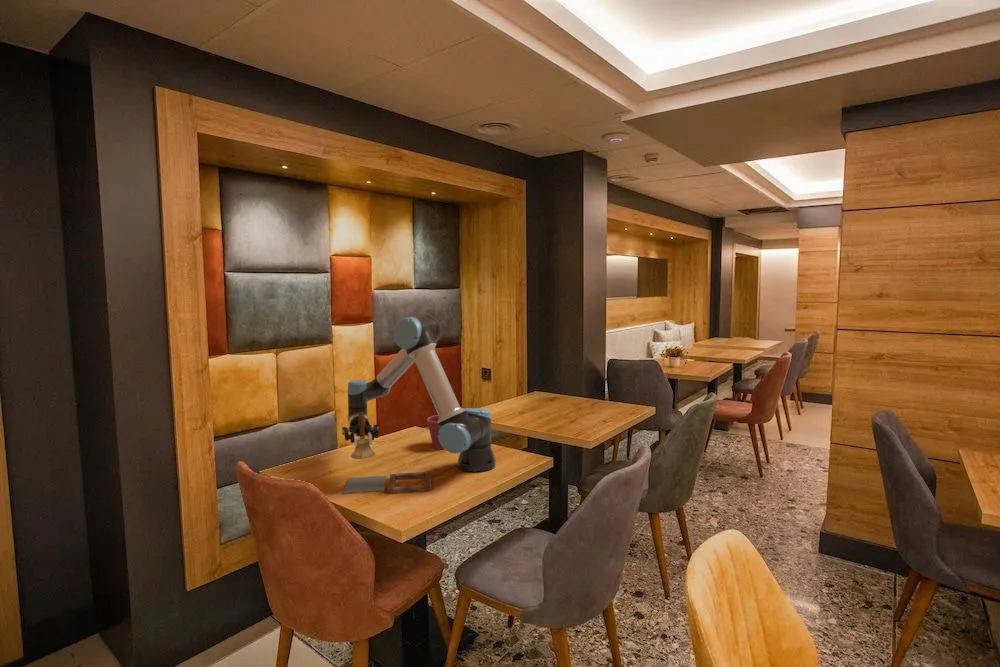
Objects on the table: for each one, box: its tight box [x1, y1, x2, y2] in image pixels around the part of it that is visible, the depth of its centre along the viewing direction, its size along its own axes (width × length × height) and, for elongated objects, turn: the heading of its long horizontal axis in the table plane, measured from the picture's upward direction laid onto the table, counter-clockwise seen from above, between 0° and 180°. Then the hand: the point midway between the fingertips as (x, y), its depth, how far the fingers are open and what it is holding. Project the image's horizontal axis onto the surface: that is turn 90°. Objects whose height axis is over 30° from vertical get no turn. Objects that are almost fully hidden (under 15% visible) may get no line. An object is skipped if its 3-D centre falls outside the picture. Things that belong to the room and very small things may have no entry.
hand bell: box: [350, 412, 376, 460], centre depth 184 cm, size 8×8×16 cm
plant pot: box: [426, 414, 445, 450], centre depth 230 cm, size 14×14×13 cm
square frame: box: [387, 471, 432, 494], centre depth 186 cm, size 15×15×2 cm
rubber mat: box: [342, 475, 388, 494], centre depth 185 cm, size 14×14×1 cm
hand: (363, 441), depth 179 cm, fingers closed on hand bell, 4 cm apart
